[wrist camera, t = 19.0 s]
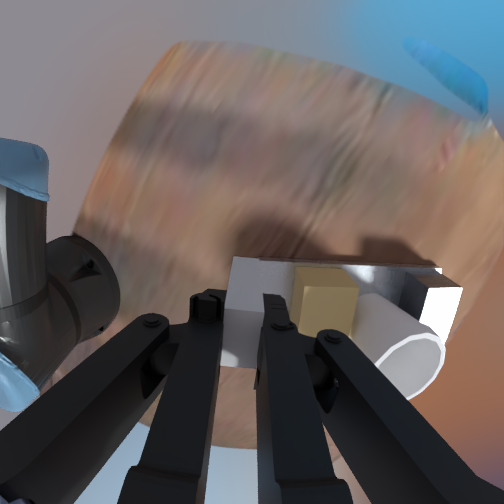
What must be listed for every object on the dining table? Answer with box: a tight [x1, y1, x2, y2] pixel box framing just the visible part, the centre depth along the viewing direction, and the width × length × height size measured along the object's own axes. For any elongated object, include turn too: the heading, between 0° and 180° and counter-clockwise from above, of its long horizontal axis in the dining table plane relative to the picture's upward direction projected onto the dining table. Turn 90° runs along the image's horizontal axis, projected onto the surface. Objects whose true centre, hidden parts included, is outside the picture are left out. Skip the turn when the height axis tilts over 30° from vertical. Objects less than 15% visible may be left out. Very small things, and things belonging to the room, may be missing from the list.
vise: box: [257, 257, 463, 344], centre depth 35 cm, size 26×14×8 cm, turn 87°
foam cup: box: [349, 293, 446, 400], centre depth 31 cm, size 10×9×13 cm
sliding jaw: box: [290, 267, 359, 338], centre depth 34 cm, size 6×13×6 cm, turn 177°
